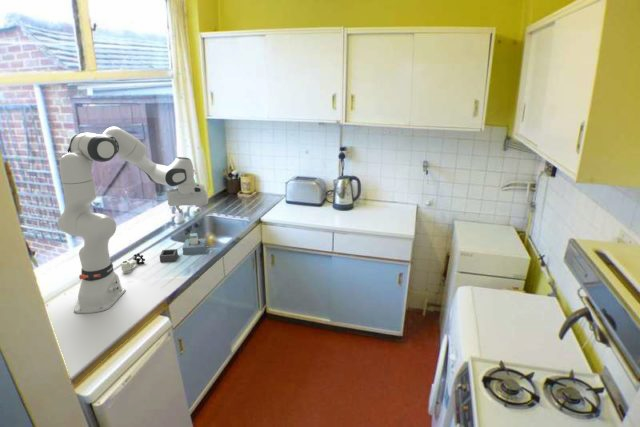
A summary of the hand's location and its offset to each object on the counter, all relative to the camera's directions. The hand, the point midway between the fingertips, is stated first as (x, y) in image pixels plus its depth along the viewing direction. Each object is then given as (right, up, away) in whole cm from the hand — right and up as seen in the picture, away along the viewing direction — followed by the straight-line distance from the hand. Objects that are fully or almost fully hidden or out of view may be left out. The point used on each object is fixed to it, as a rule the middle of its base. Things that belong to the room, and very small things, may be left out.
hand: (189, 212), depth 207 cm
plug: (0, -20, +8) cm, 22 cm away
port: (0, -21, +8) cm, 23 cm away
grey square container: (-10, -25, -2) cm, 27 cm away
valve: (-25, -29, -11) cm, 40 cm away
